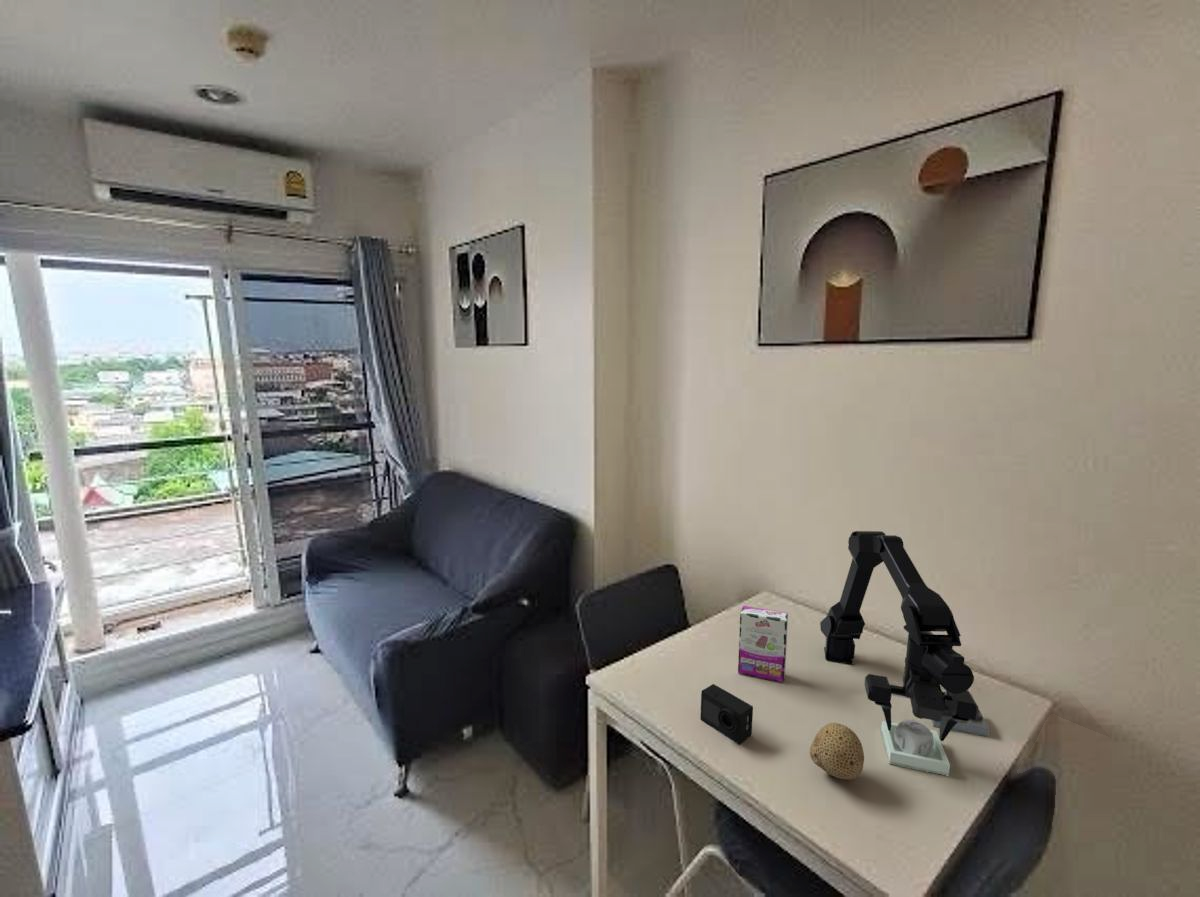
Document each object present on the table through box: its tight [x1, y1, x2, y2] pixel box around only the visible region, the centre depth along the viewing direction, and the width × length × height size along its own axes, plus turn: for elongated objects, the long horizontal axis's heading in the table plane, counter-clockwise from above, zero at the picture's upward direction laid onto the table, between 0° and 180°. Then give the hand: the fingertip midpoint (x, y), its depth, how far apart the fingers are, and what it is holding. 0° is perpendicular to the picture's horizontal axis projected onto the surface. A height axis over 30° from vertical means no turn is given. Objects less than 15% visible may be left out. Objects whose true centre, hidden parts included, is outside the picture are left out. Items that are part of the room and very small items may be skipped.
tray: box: [880, 720, 951, 776], centre depth 108 cm, size 10×10×2 cm
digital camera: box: [700, 683, 754, 745], centre depth 114 cm, size 10×5×7 cm, turn 40°
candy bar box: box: [737, 605, 789, 684], centre depth 134 cm, size 11×5×16 cm, turn 68°
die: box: [894, 718, 934, 757], centre depth 108 cm, size 5×5×5 cm
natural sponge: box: [809, 722, 865, 780], centre depth 101 cm, size 9×9×10 cm
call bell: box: [930, 710, 990, 737], centre depth 117 cm, size 10×7×4 cm
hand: (914, 734), depth 108 cm, fingers open, 9 cm apart
